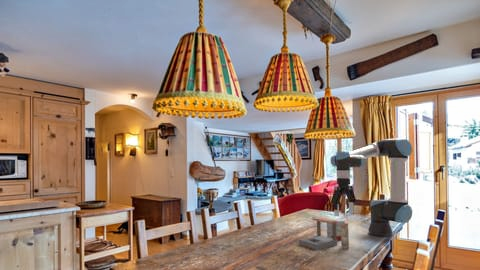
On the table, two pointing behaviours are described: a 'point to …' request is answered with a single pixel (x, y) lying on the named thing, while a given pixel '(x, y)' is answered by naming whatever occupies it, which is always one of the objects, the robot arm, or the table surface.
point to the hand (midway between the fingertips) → (344, 214)
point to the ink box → (338, 229)
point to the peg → (344, 236)
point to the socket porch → (320, 241)
